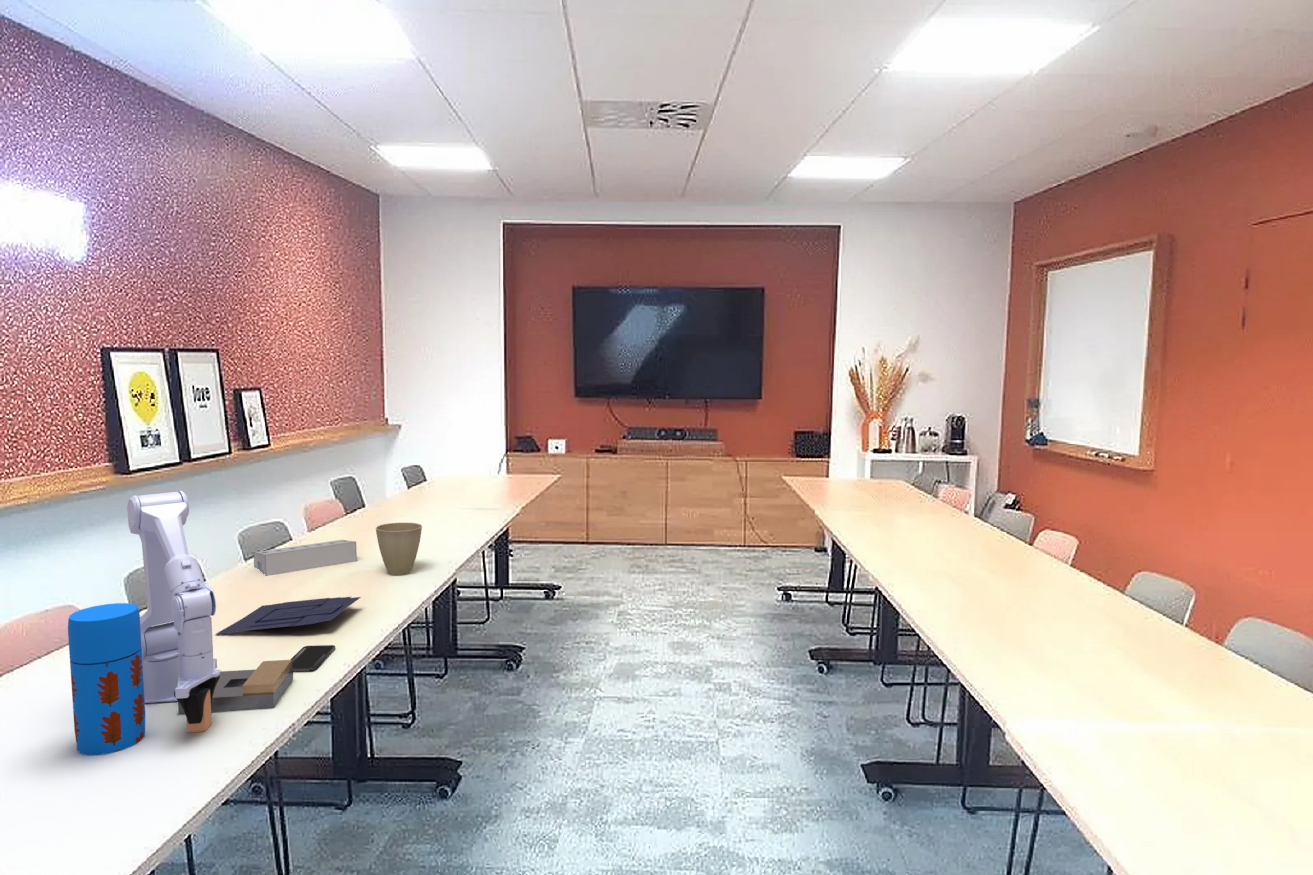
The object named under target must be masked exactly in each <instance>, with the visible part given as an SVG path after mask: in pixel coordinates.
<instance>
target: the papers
mask: <svg viewBox="0 0 1313 875" xmlns="http://www.w3.org/2000/svg"><path fill="white" fill-rule="evenodd" d="M361 598H362V596H358V597H355V596H354V597H352V596H346V597H344V596H343V597H342V596H340V597H339V596H338V597H324V598H323V597H322V598H315V599H306V600H305V599H303V600H296V601H295V600H294V601H286V602H285V601H284V602H280V603H273V604H265V605H261V606H260V607H258V608H256V609H255V610H253V611H252V612H250V613H249V614H247V615H245V617H242V618H240V619H239V620H237V621H236V622H234V623H232V624H230V625H229V626H227V627H224V628H223V629H222V630H220V631H218V632H216V633H215V635H223V634H230V633H231V634H233V633H239V632H245V631H246V632H247V631H255V630H264V629H265V630H266V629H275V628H285V627H287V628H289V627H298V626H305V625H313V624H317V623H320V622H321V623H322V622H330V621H332V620H333V619H335V618H336V617H337V616H339V615H340V614H341V613H342V612H343V611H345V610H346V609H347V608H349V607H350V606H351V605H352V604H354V603H355V602H356V601H358V600H359V599H361Z"/></svg>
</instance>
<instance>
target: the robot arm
mask: <svg viewBox="0 0 1313 875" xmlns="http://www.w3.org/2000/svg"><path fill="white" fill-rule="evenodd" d="M126 512H127V522H128V529H129V532H130V534H134V535H139V538H140V541H141V548H142V560H143V562H142V563H143V571H144V572H143V573H144V582H145V583H144V584H145V596H146V597H145V598H146V608H147V610H146V611H145V612H144V613H143V614H142V615H141V616H140V629H141V647H142V664H143V682H144V700H145V704H152V703H169V702H170V703H171V702H178V701H179V703H180V704H181V706H182V708H183V710H184V712H185V714H184V715H185V718H187V719H186V722H187V721H188V723H189V724H196V723H201V721H202V718H203V709H204V702H205V698H206V695H207V692H208V690H209V689H210V698H211V703H212V697H213V693H214V690H215V687H216V684H217V682H218V680H219V678H220V675H219V674H220V673H221V671H222V670H220V669H217V668H218V660H217V658H215V657H214V645H213V643H214V641H213V624H212V623H213V622H212V620H213V619H212V617H213V616H215V615H216V611H217V602H216V597H215V592H214V590H213V588H212V587H211V586H210V585H209V583H208V582H205V580H204V577H203V574H202V571H201V569H200V565H199V562H198V559H197V558H196V557H194V556H191V555H189V551H188V545H187V540H186V536H185V531H184V525H186V522H187V518H188V516H189V513H190V504H189V499H188V496H187V494H186V493H185V492H184V491H183V490H178V491H171V492H163V493H152V494H141V495H135V494H134V495H132V496H130V497H129V499H128V500H127V506H126Z"/></svg>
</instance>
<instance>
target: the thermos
mask: <svg viewBox="0 0 1313 875" xmlns="http://www.w3.org/2000/svg"><path fill="white" fill-rule="evenodd" d="M140 617H141V616H140V610H139V605H136V604H135V603H130V602H128V603H127V602H126V603H125V602H124V603H123V602H121V603H120V602H118V603H117V602H116V603H106V604H100V605H99V604H98V605H95V606H90V607H86V608H83V609H79V610H77V611H74V612H73V613H71V614H69V616H68V621H67V636H68V650H69V667H70V668H69V669H70V678H71V680H70V681H71V694H72V697H71V698H72V711H73V726H74V738H75V743H76V744H75V745H76V750H77V752H78V753H79V754H81V755H85V756H101V755H107V754H111V753H116V752H120V751H123V750H125V749H128V748H130V747H132V746H134V745H136V744H138V743H139V742H141V741H142V740H143V739H144V738H145V736H146V705H145V704H146V703H145V700H144V682H143V664H142V647H141V629H140Z"/></svg>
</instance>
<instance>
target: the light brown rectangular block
mask: <svg viewBox="0 0 1313 875" xmlns="http://www.w3.org/2000/svg"><path fill="white" fill-rule="evenodd" d="M185 718H186V717H185ZM212 722H213V721H212V712H211V698H210V689H209V690H208V692H207V695H206V698H205V702H204V709H203V718H202V721H201V723H196V724H189V723H188V721H187V718H186V730H187V731H186V733H196V732H198V733H199V732H206V731H207V730H208V729H209V728H210V726H211V725H212Z"/></svg>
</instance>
